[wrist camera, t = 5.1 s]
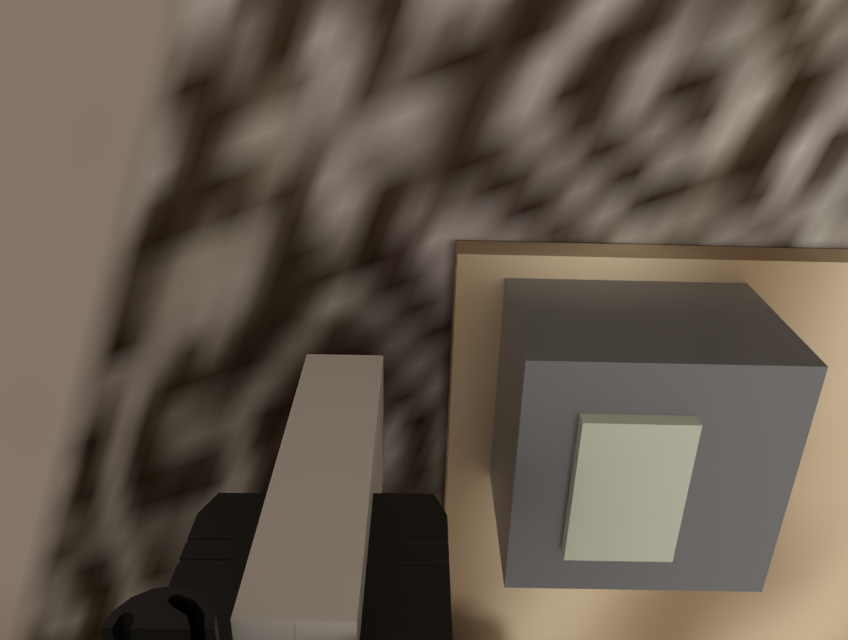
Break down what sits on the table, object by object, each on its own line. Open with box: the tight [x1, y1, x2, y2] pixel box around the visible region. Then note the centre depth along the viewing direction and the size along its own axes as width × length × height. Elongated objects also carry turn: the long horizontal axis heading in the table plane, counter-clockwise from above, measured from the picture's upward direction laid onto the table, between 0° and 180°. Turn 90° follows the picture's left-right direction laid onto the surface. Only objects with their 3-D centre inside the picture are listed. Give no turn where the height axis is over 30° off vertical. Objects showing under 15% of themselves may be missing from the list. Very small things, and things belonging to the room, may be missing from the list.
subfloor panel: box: [444, 240, 848, 640], centre depth 20 cm, size 17×20×1 cm
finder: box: [490, 278, 828, 592], centre depth 15 cm, size 5×5×4 cm
